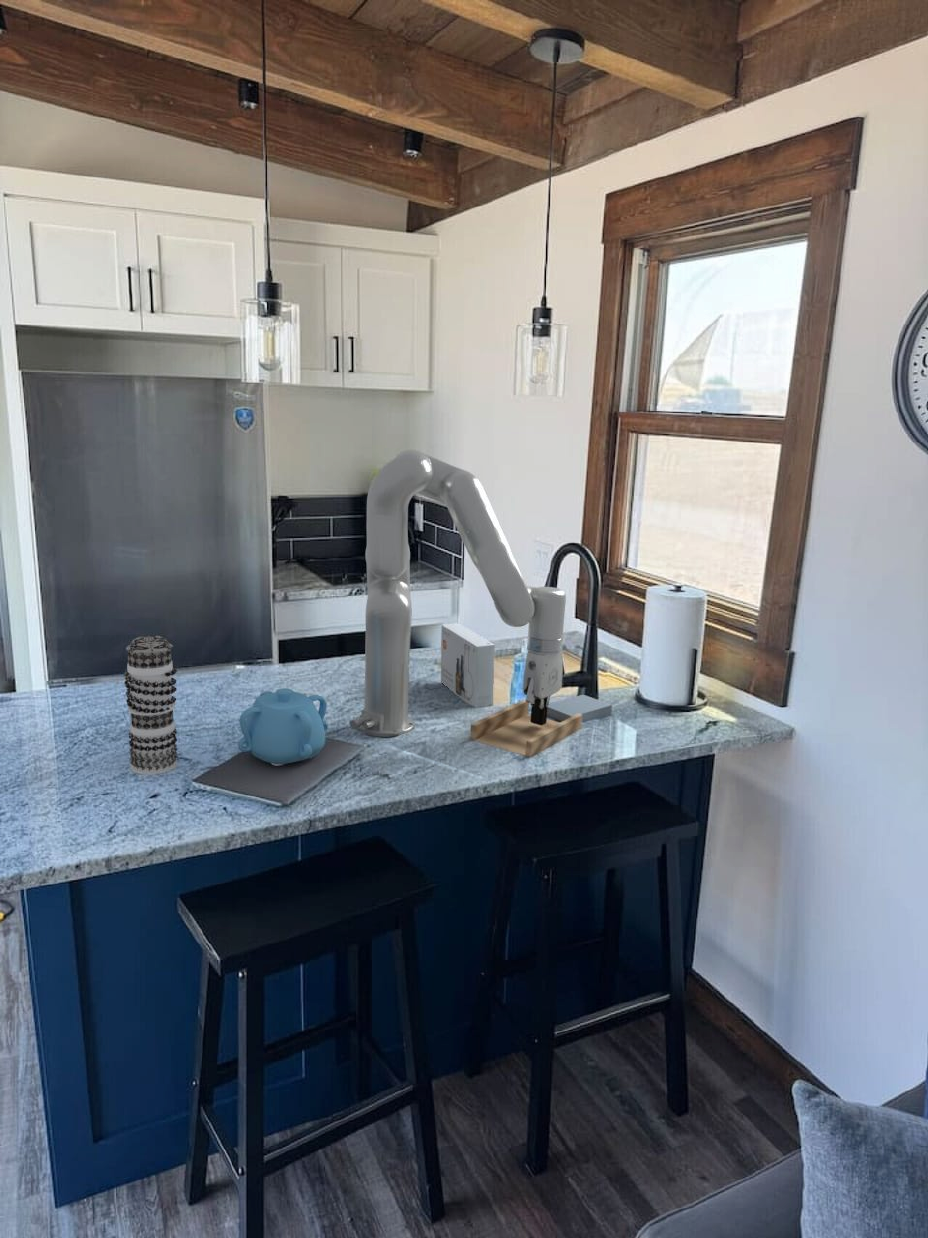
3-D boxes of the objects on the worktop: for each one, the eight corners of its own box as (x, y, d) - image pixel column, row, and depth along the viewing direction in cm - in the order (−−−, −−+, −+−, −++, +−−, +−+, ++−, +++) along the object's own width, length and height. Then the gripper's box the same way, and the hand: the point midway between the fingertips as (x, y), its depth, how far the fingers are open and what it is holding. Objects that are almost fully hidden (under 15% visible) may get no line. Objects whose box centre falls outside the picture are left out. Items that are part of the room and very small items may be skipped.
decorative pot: (227, 765, 162) (225, 698, 159) (263, 735, 178) (262, 673, 174) (307, 776, 159) (307, 708, 156) (336, 745, 175) (337, 682, 171)
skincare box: (438, 683, 218) (440, 623, 214) (457, 681, 220) (460, 622, 216) (473, 710, 199) (476, 645, 195) (493, 708, 201) (497, 643, 198)
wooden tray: (530, 759, 172) (531, 742, 171) (470, 741, 180) (470, 724, 179) (581, 730, 189) (582, 714, 188) (524, 714, 198) (525, 699, 197)
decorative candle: (162, 752, 167) (157, 629, 161) (189, 766, 161) (185, 639, 155) (119, 765, 160) (112, 638, 154) (145, 780, 154) (139, 648, 148)
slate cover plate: (571, 729, 191) (572, 716, 191) (542, 717, 198) (543, 705, 197) (610, 717, 200) (612, 705, 200) (582, 706, 207) (583, 694, 206)
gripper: (542, 654, 176) (535, 736, 180) (576, 641, 188) (569, 718, 192) (511, 647, 180) (506, 727, 184) (546, 634, 192) (540, 710, 196)
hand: (538, 723), depth 188 cm, fingers closed
